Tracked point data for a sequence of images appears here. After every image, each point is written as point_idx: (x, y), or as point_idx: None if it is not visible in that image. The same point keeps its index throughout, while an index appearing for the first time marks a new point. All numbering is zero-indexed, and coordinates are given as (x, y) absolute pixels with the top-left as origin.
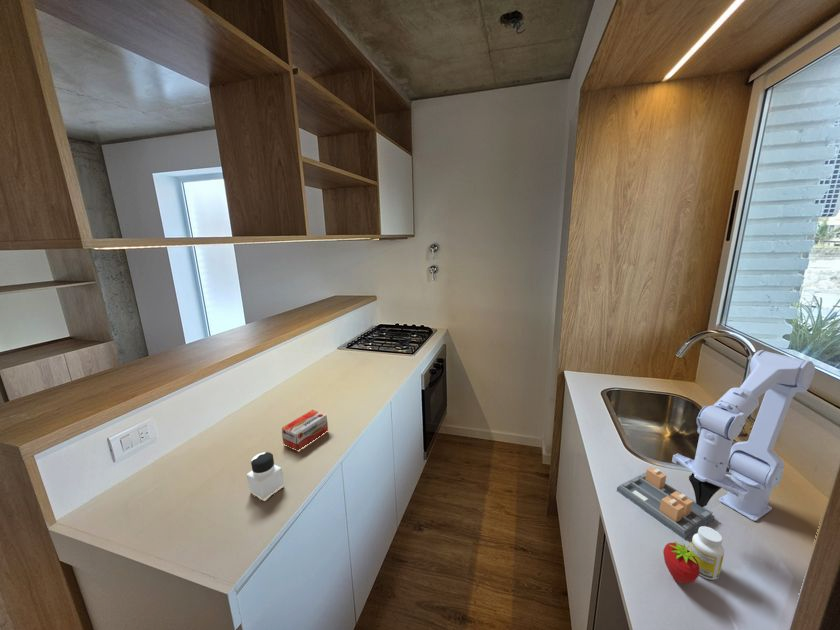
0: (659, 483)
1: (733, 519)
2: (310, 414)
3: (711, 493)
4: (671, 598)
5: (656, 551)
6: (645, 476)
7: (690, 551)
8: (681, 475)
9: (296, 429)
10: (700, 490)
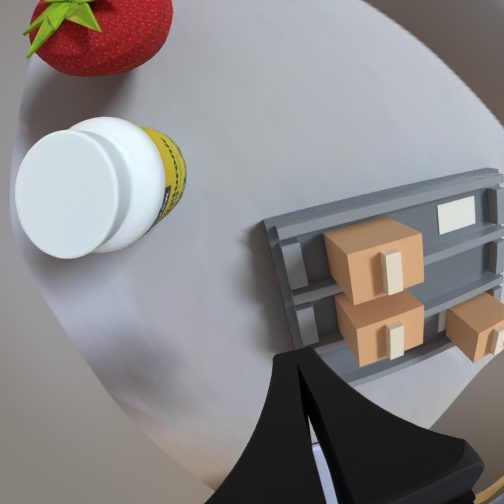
0: (464, 319)
1: None
2: None
3: (206, 501)
4: None
5: (241, 62)
6: None
7: (156, 132)
8: (436, 408)
9: None
10: (329, 443)
